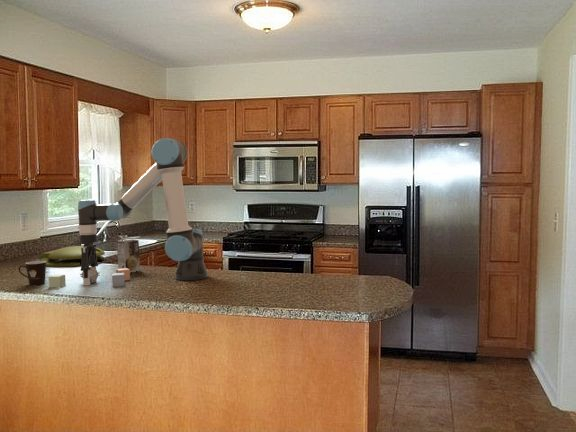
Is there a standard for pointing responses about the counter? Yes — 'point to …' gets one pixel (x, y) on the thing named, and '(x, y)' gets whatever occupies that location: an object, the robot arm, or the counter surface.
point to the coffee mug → (35, 272)
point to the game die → (92, 274)
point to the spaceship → (66, 256)
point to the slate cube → (118, 279)
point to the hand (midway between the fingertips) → (90, 282)
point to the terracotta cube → (126, 273)
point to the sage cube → (57, 281)
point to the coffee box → (128, 255)
